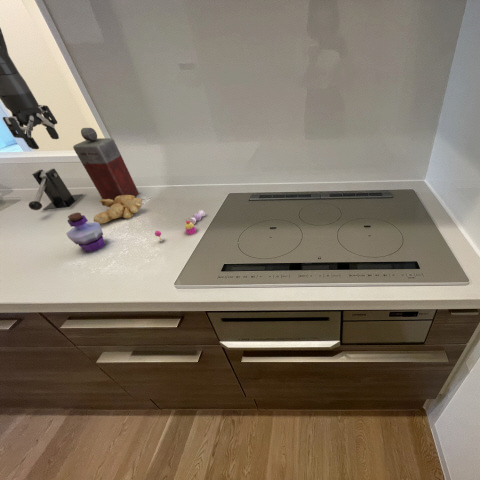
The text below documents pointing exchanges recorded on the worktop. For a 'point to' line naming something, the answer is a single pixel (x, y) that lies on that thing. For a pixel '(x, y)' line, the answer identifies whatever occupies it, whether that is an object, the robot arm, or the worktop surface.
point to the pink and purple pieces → (189, 223)
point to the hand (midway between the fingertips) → (46, 143)
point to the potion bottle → (85, 233)
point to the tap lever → (39, 192)
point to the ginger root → (118, 208)
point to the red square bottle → (105, 165)
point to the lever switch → (56, 190)
